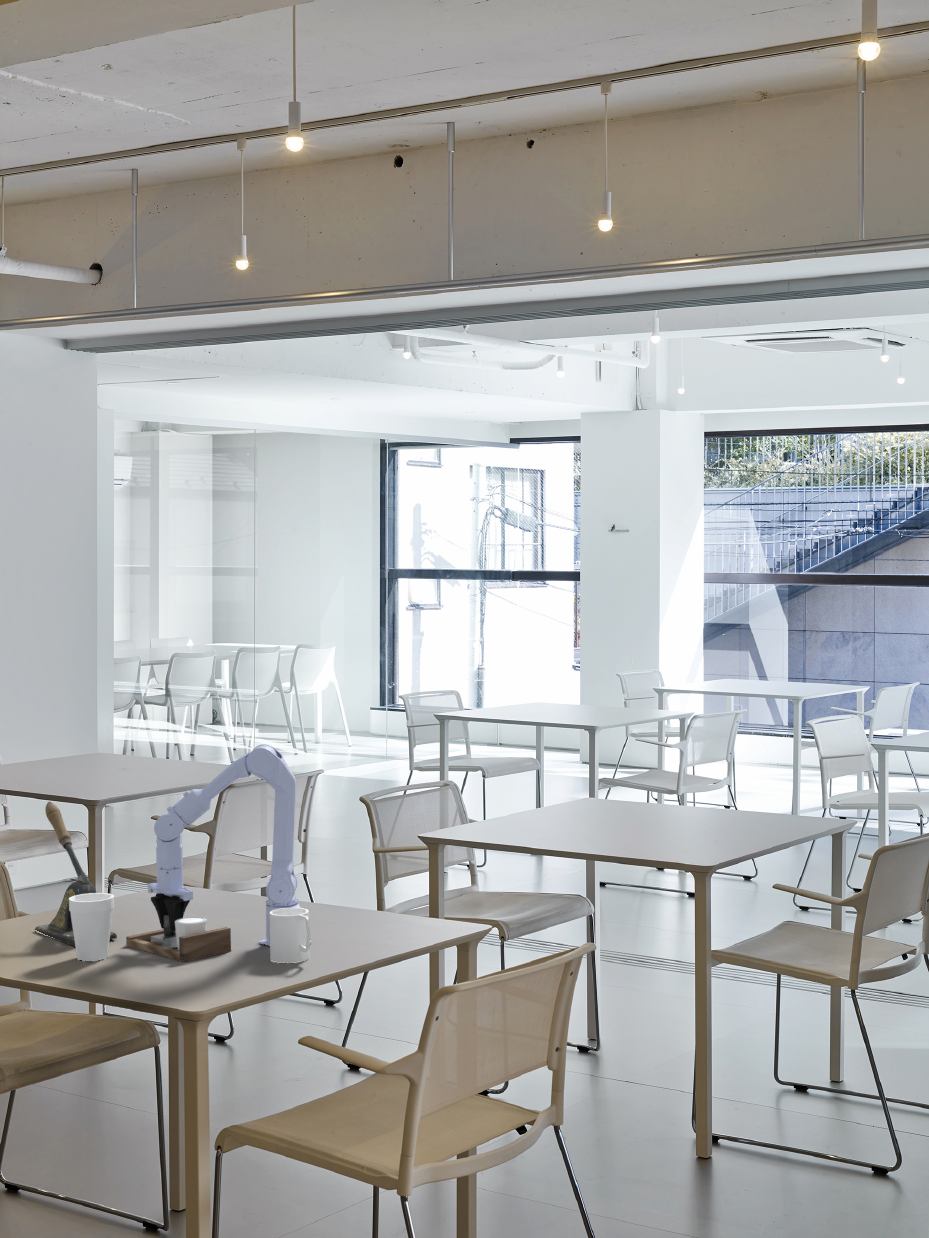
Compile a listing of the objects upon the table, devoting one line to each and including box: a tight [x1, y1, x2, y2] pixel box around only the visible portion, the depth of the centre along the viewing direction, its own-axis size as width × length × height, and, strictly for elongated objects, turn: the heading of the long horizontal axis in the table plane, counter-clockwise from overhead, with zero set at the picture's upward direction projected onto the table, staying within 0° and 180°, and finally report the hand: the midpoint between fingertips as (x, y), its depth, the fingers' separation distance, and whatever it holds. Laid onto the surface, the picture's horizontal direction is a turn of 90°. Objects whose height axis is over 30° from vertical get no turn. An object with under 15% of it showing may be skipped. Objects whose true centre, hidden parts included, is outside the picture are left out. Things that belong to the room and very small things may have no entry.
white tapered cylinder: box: [175, 916, 208, 950], centre depth 305 cm, size 7×7×7 cm
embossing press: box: [34, 801, 118, 947], centre depth 322 cm, size 11×24×30 cm, turn 38°
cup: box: [269, 907, 311, 963], centre depth 296 cm, size 8×12×10 cm
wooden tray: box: [125, 926, 232, 963], centre depth 308 cm, size 22×12×5 cm, turn 46°
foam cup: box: [69, 892, 115, 962], centre depth 301 cm, size 10×9×13 cm
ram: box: [151, 913, 178, 949], centre depth 310 cm, size 4×8×7 cm, turn 136°
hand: (170, 928), depth 310 cm, fingers closed on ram, 3 cm apart
